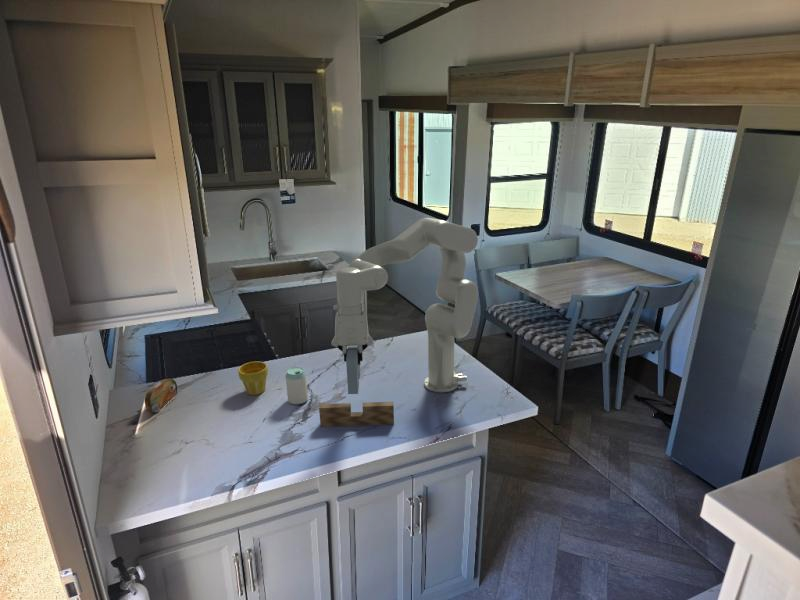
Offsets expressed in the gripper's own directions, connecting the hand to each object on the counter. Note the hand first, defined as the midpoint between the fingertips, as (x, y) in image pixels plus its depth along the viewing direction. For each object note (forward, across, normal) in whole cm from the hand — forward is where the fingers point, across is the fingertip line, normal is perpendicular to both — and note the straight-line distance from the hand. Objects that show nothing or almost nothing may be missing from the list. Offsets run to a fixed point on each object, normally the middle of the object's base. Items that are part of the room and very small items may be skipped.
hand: (353, 362), depth 165 cm
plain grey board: (+7, 0, 0) cm, 7 cm away
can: (+23, -22, +16) cm, 35 cm away
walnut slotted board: (+22, 0, 0) cm, 22 cm away
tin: (+23, -70, +16) cm, 75 cm away
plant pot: (+23, -39, +24) cm, 51 cm away
